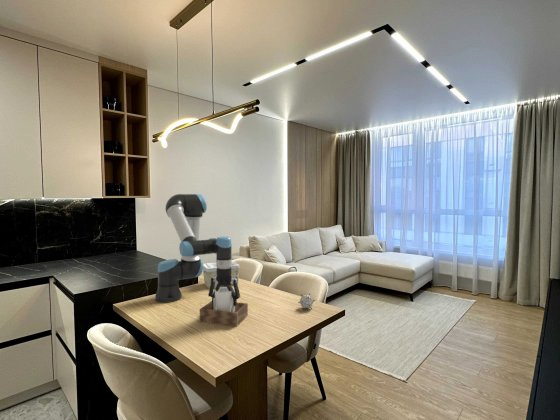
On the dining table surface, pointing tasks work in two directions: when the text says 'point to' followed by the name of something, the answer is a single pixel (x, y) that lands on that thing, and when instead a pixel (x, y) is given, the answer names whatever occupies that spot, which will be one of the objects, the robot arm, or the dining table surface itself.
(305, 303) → the grey spiked ball
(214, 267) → the storage basket
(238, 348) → the dining table surface
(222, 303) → the foam cup
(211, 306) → the brown wooden tray
